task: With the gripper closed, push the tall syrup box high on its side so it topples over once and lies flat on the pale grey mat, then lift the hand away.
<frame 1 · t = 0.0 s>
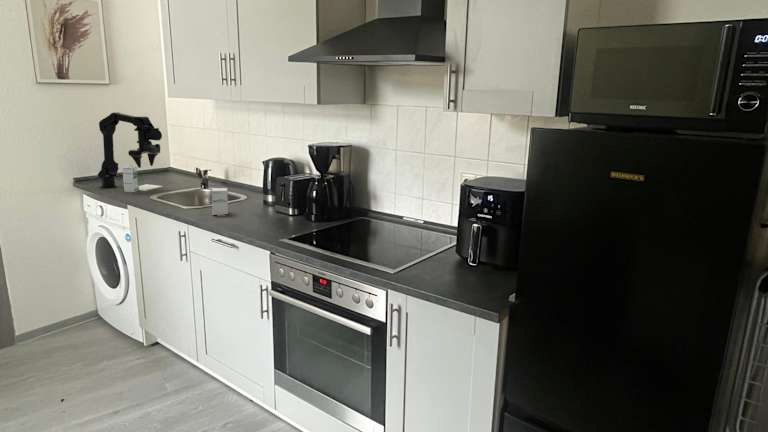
hand: (145, 166, 295), 15 cm above the worktop, tool pointing down, fingers open, 9 cm apart
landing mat: (145, 187, 309), on the worktop
supplement box: (220, 214, 256), on the worktop
syrup box: (131, 191, 299), on the worktop
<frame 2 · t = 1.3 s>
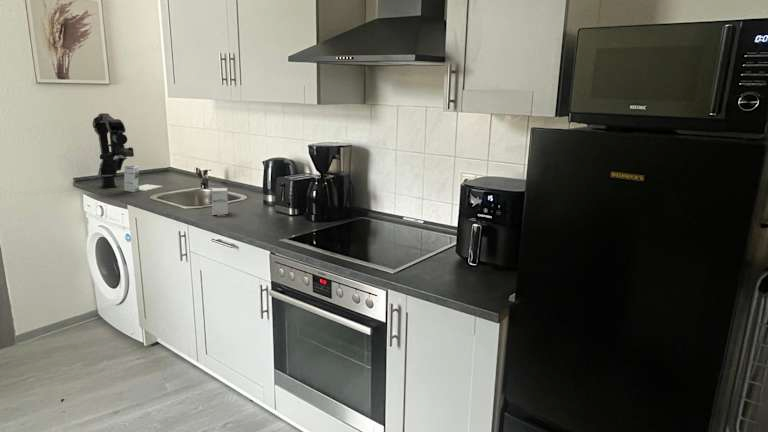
hand: (118, 170, 288), 13 cm above the worktop, tool pointing down, fingers closed
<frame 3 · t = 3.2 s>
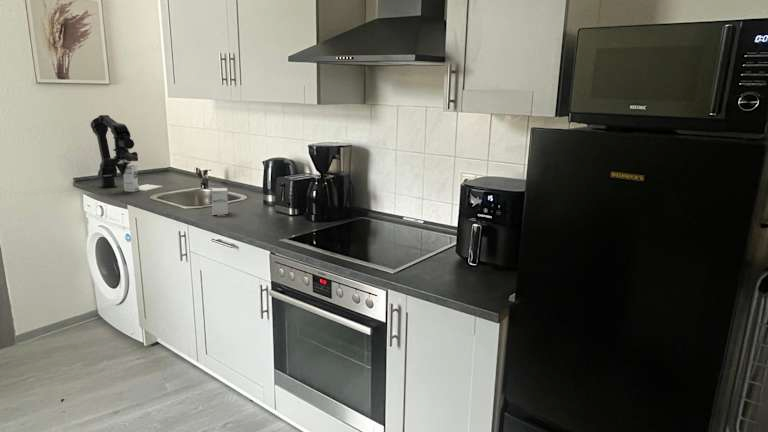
hand: (122, 174, 292), 10 cm above the worktop, tool pointing down, fingers closed
syrup box: (131, 191, 299), on the worktop, touching gripper
everything else where it was.
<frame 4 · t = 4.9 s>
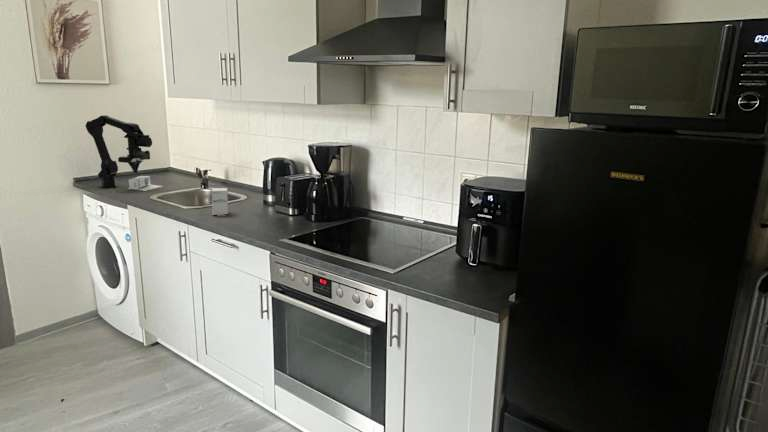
hand: (135, 172, 300), 10 cm above the worktop, tool pointing down, fingers closed
syrup box: (132, 184, 301), point 3 cm above the worktop, touching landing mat
everything else where it was.
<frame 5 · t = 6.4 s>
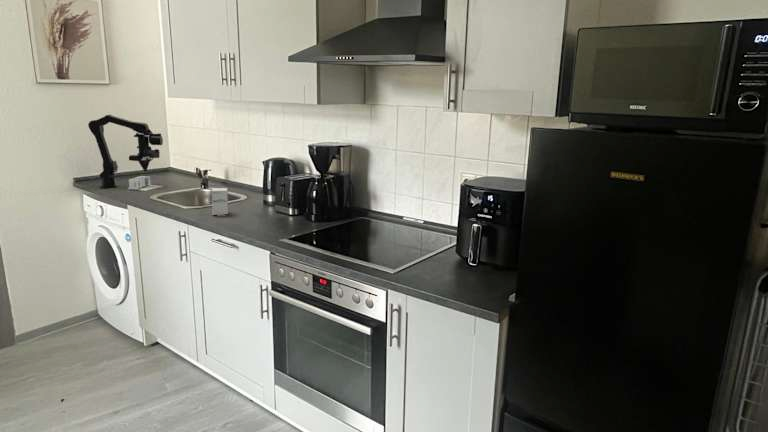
hand: (145, 171, 308), 10 cm above the worktop, tool pointing down, fingers closed
nothing on the worktop moved.
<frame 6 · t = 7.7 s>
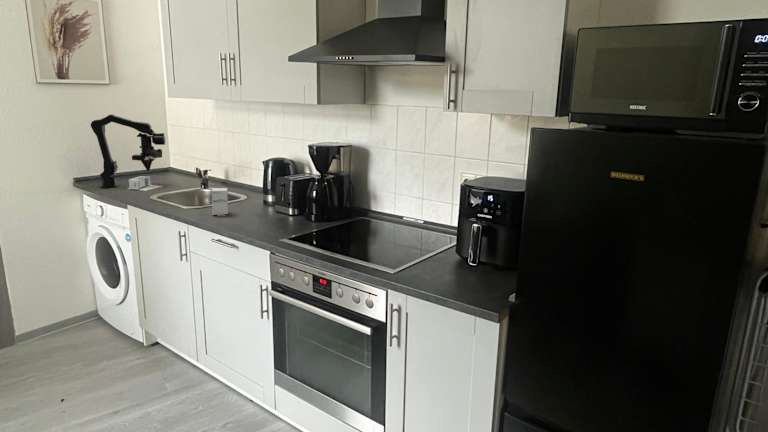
hand: (148, 170, 310), 10 cm above the worktop, tool pointing down, fingers closed
nothing on the worktop moved.
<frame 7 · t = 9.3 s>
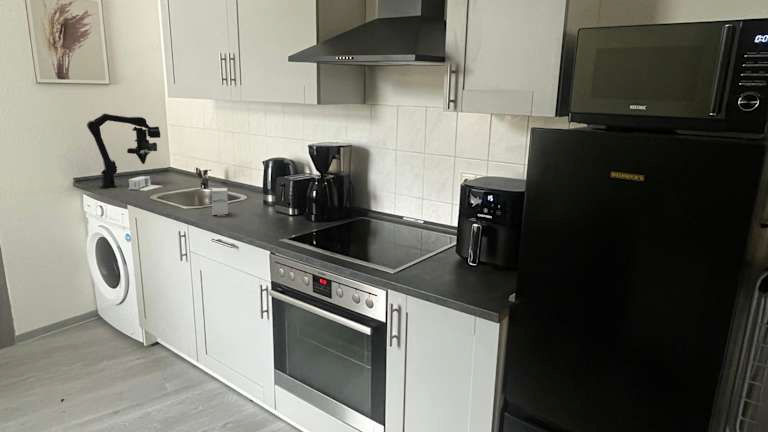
hand: (143, 163, 315), 13 cm above the worktop, tool pointing down, fingers closed
nothing on the worktop moved.
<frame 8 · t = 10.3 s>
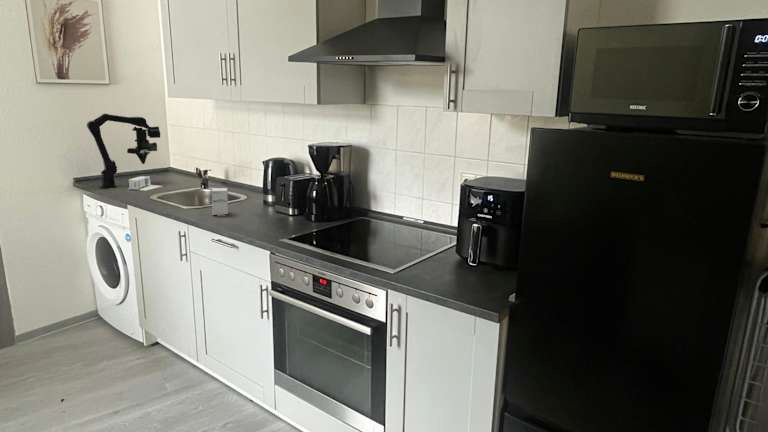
hand: (143, 163, 315), 13 cm above the worktop, tool pointing down, fingers closed
nothing on the worktop moved.
at the end: syrup box tilted 90°; syrup box inside the target area (1.2 cm from its centre), point 3.3 cm above the worktop; syrup box touching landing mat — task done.
